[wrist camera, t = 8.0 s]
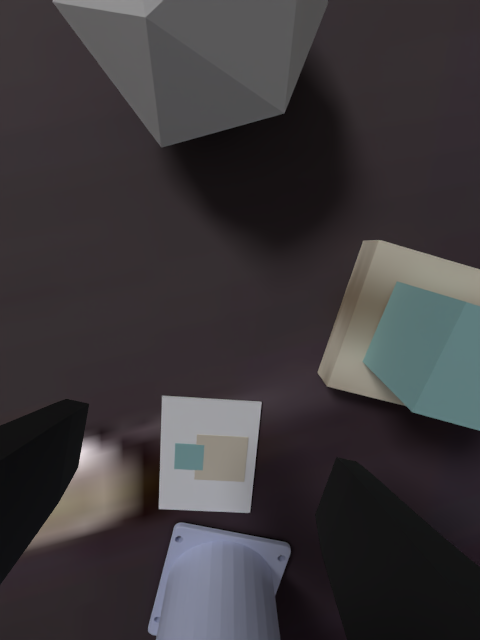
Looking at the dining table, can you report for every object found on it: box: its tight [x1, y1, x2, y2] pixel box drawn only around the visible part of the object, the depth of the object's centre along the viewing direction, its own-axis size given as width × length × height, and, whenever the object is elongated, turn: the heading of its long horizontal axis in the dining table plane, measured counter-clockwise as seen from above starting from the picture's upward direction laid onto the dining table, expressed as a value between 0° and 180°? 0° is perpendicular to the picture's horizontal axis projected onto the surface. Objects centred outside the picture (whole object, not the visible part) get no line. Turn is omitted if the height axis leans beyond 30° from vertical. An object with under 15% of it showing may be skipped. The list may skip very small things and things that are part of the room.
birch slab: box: [318, 240, 480, 406], centre depth 18 cm, size 8×8×2 cm
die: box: [53, 0, 328, 148], centre depth 12 cm, size 8×9×10 cm
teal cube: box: [363, 281, 480, 431], centre depth 14 cm, size 4×4×5 cm
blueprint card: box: [159, 396, 262, 513], centre depth 20 cm, size 8×6×1 cm
